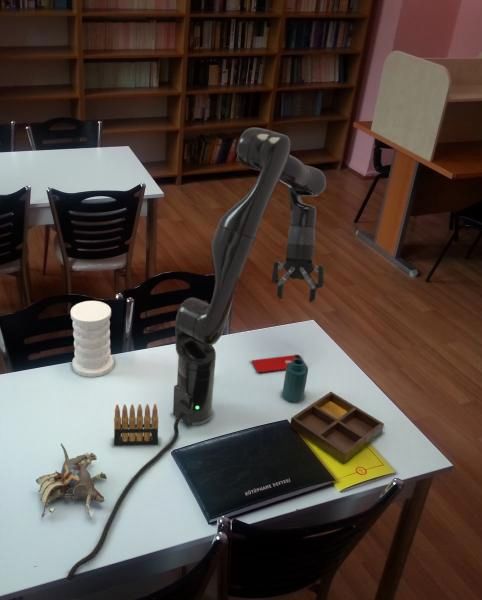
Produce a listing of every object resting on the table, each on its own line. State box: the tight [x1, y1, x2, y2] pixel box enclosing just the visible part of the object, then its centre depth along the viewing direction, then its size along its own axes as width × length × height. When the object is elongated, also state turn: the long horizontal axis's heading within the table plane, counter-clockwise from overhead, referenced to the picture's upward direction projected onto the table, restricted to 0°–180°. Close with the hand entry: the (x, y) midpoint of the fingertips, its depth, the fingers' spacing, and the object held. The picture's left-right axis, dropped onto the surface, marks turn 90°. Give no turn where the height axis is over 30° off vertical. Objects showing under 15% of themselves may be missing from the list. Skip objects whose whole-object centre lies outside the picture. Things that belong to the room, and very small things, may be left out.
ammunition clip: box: [113, 403, 159, 447], centre depth 146 cm, size 11×2×12 cm, turn 95°
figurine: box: [35, 442, 108, 520], centre depth 133 cm, size 20×6×17 cm
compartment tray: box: [289, 391, 385, 464], centre depth 157 cm, size 17×17×3 cm
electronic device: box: [251, 354, 306, 374], centre depth 180 cm, size 6×1×15 cm
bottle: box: [281, 358, 309, 404], centre depth 165 cm, size 6×6×12 cm
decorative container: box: [70, 300, 115, 378], centre depth 171 cm, size 12×12×18 cm
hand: (295, 300), depth 172 cm, fingers open, 8 cm apart
